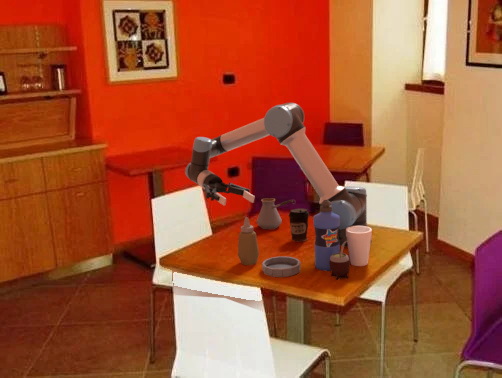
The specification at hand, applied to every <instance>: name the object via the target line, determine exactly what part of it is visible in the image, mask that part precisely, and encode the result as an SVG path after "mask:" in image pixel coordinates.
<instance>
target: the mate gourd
mask: <svg viewBox="0 0 502 378" xmlns="http://www.w3.org/2000/svg"><path fill="white" fill-rule="evenodd" d="M347 241H348V240H347ZM347 241H345V242H344V243H343V244H342V246H340V248H341V249H340V253H334V254H333V255H332V256H331V257H330V260H329V265H330V269H331V271H330V272H331V273H330V276H331V277H333V278H335V280H336V281H338V280H340V278H341V279H349V272H350V264H351V262H350V256H349V255H347V254H346V253H345V252H343V251H344V244H345V243H346V242H347Z"/></svg>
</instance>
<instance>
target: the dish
mask: <svg viewBox="0 0 502 378" xmlns="http://www.w3.org/2000/svg"><path fill="white" fill-rule="evenodd" d="M301 264H302V262H301V260H299V259H298V258H297V257H296V258H295V257H293V256H285V255H284V256H273V257H270V258H267V259H264V260H263V262H262V263H261V269H262V273H263V274H264V275H267V276H269V277H273V278H286V277H292V276H295V275H297V274H299V273H300V271H301V268H302V265H301Z"/></svg>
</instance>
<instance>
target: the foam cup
mask: <svg viewBox="0 0 502 378" xmlns="http://www.w3.org/2000/svg"><path fill="white" fill-rule="evenodd" d="M372 232H373V228H371V227H369V226H368V227H366V226H351V227H348V228H346V237H347V240H348V241H347V243H348V247H347V248H348V249H347V250H348V254H349V255H348V257H349V261H350V264H351V265H352V266H356V267H364V266H367V265H368V263H369V258H370V250H371V249H370V248H371V243H372V235H373V233H372ZM370 242H371V243H370Z"/></svg>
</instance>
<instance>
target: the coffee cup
mask: <svg viewBox="0 0 502 378" xmlns="http://www.w3.org/2000/svg"><path fill="white" fill-rule="evenodd" d="M309 216H310V213H309V212H308V209H306V208H295V209H294V208H293V209H291V210H290V211H289V213H288V219H289V224H290V225H289V227H290V234H291V240H292V241H293V242H299V243H300V242H305V241H307V240H308V237H307V234H308V228H309Z"/></svg>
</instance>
